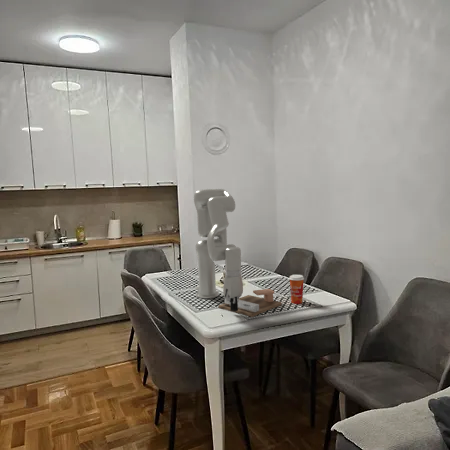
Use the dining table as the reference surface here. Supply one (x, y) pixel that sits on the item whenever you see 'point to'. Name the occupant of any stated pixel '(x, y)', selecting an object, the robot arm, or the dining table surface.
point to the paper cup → (296, 288)
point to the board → (257, 300)
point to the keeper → (265, 294)
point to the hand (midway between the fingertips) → (234, 310)
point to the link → (245, 305)
